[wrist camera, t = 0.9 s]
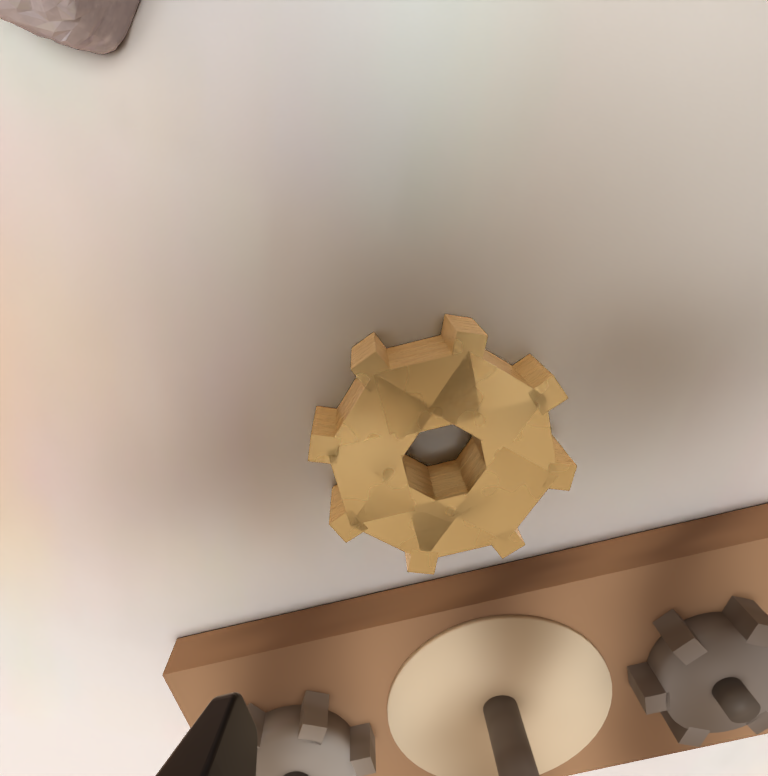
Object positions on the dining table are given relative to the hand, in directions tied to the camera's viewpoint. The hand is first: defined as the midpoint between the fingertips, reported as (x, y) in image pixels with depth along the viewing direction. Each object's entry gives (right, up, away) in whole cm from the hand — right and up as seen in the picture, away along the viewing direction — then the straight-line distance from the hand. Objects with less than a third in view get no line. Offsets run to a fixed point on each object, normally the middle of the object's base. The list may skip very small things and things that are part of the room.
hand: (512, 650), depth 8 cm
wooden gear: (-1, +3, +8) cm, 8 cm away
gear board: (+2, -6, +11) cm, 13 cm away
